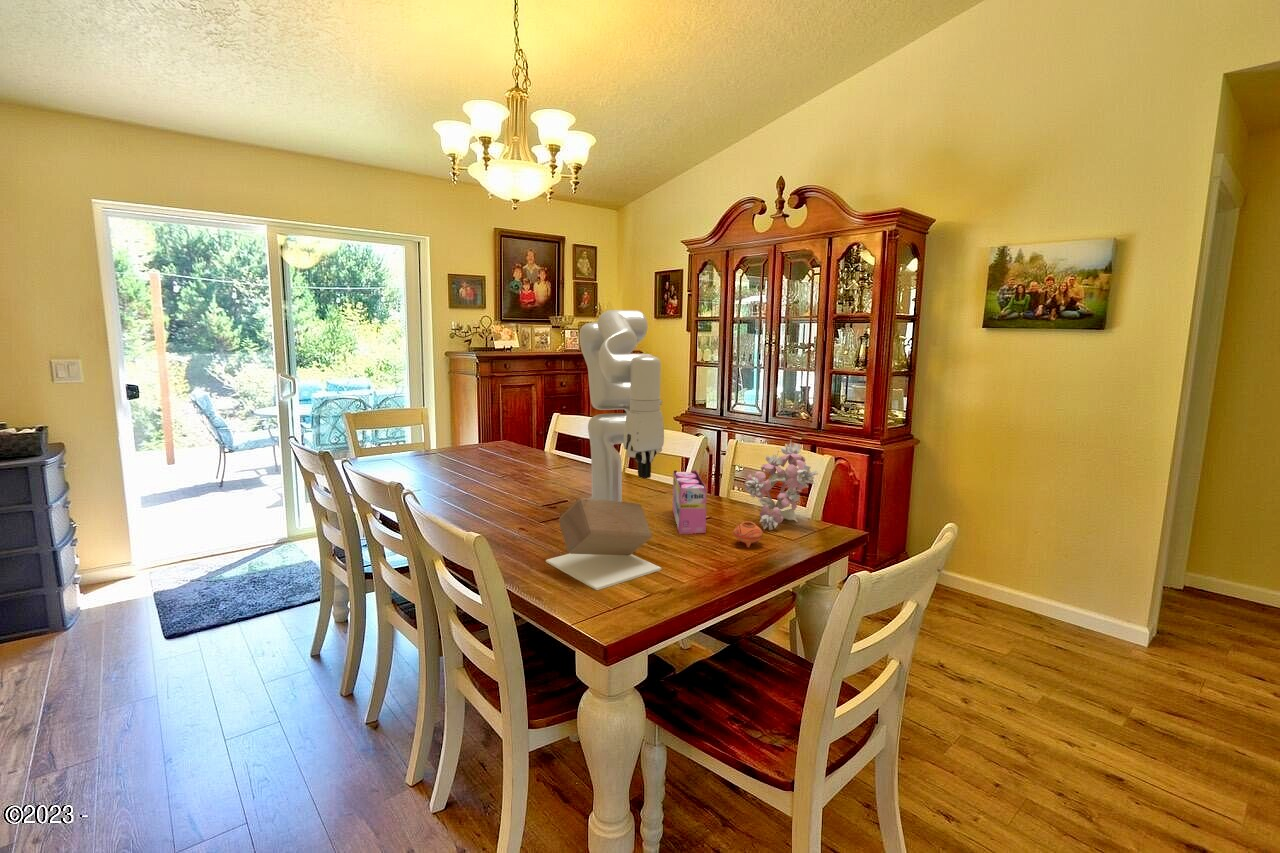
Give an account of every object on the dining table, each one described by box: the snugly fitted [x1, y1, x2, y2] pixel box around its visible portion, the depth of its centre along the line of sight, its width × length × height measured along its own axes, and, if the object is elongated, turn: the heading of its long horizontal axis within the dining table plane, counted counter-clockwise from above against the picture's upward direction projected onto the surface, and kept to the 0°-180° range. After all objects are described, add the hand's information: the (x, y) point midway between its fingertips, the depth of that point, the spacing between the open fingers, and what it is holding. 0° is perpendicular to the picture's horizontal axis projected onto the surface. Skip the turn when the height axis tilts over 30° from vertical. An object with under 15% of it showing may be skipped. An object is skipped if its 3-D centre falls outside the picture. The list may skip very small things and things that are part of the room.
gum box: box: [672, 469, 708, 535], centre depth 185 cm, size 24×8×14 cm, turn 2°
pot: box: [732, 520, 764, 549], centre depth 165 cm, size 8×8×7 cm
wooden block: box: [558, 497, 653, 555], centre depth 149 cm, size 10×10×20 cm
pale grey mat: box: [545, 553, 662, 591], centre depth 150 cm, size 22×19×1 cm
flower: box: [744, 439, 819, 531], centre depth 183 cm, size 20×22×25 cm
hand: (644, 477), depth 156 cm, fingers closed
